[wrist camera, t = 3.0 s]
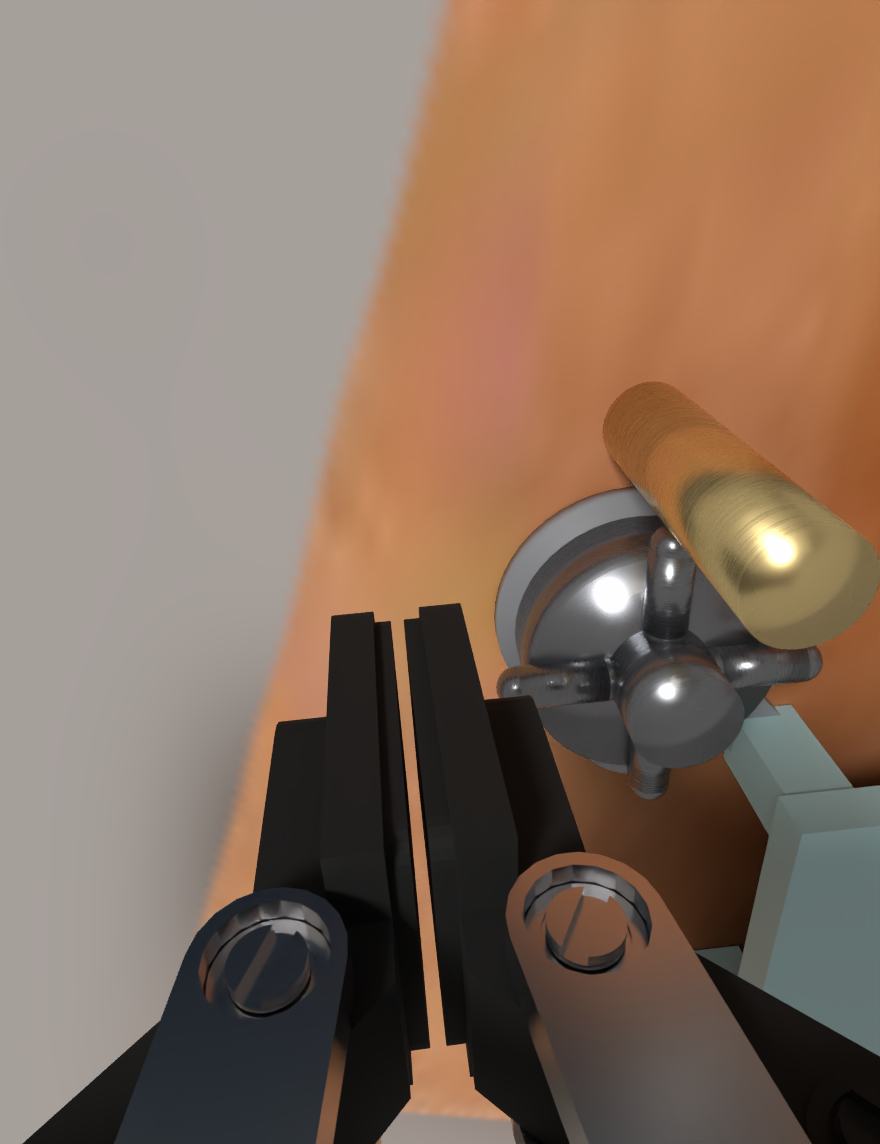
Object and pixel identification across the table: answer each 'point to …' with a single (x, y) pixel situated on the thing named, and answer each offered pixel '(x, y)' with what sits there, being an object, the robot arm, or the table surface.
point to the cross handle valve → (684, 597)
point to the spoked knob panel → (772, 829)
